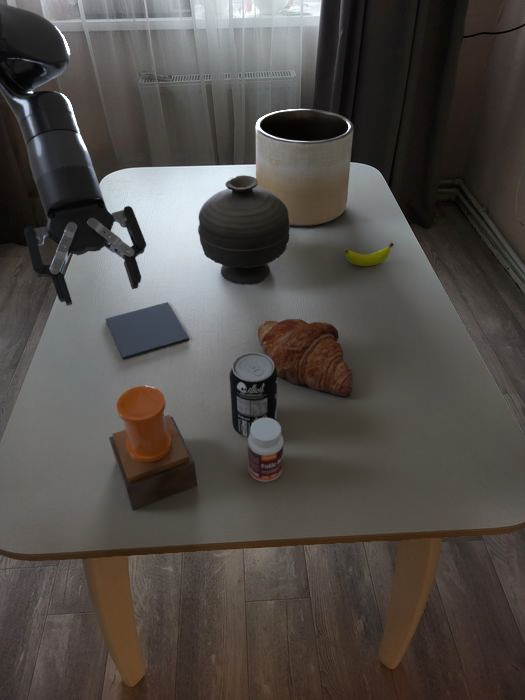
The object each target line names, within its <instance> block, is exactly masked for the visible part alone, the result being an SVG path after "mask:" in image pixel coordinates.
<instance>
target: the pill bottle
mask: <svg viewBox="0 0 525 700" xmlns="http://www.w3.org/2000/svg"><path fill="white" fill-rule="evenodd" d="M284 444H285V443H284V437H283V434H282V427H281V425H280V423H279V422H278V421H277V419H276V420H274V419H271V418H260V419H257V420H256V421H254V422H253V423H252V425H251V428H250V435H249V437H248V438H247V462H248V463H247V465H248V468H247V469H248V472H249V474H250V476H251V477H252V478H253V479H254V480H256V481H259V482H262V483H269V482H272V481H274V480H277V479H278V478H279V477H280V476H281V475H282V472H283V465H284V463H283V461H284Z"/></svg>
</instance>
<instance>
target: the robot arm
mask: <svg viewBox="0 0 525 700" xmlns="http://www.w3.org/2000/svg"><path fill="white" fill-rule="evenodd" d="M70 55H71V53H70V48H69V46H68V43H67V41H66V39H65V36H64V35H63V34H62V33H61V31H60V30H59V28H57V26H55V24H54V23H52V21H50V20H48V19H47V18H45V17H44V16H42V15H40V14H38V13H36V12H33V11H31V10H27V9H24V8H21V7H17V6H12V5H9V4H7V3H6V4H5V3H1V2H0V93H1V95H2V96H3V98H4V99H5V101H6V103H7V105H8V106H9V108H10V109H11V111H12V113H13V114H14V116H15V118H16V120H17V122H18V126H19V128H20V131H21V134H22V137H23V140H24V141H23V142H24V144H25V147H26V151H27V155H28V162H29V166H30V170H31V174H32V179H33V182H34V183H35V186H36V189H37V192H38V195H39V198H40V201H41V205H42V207H43V212H44V214H45V217H46V220H47V221H46V222H47V223H46V226H42V227H33V226H31V225H27V226H25V227H24V228H23V233H24V237H25V241H26V244H27V245H26V246H27V249H28V253H29V257H30V262H31V265H32V270H33V272H34V275H35V276H36V277H37V278H49V279H51V280H52V283H53V286H54V289H55V292H56V295H57V298H58V301H60V302H61V303H65V305H66V306H67V307H68V306H72V305H73V300H72V297H71V293H70V291H69V287H68V284H67V281H66V278H65V276H64V273H63V271H64V269H65V267H66V265H67V263H68V260H69V258H70V255H71V254H72V255H76V256H81V255H84V254H86V253H88V252H98V251H101V250H102V249H103V248H104V247H105V248H106V249H107V250H108V251H110V252H111V253H114V254H116V255H117V256H118V257H120V258H121V259H123V260H124V262H123V265H124V269H125V272H126V276H127V278H128V282H129V284H130V287H131V289H132V290H136V289H138V288H139V286H140V285H139V284H140V283H141V281H142V275H141V271H140V268H139V265H138V261H137V259H136V258H137V257H138V256H140V255H143V254H144V252H145V249H146V247H147V242H146V239H145V236H144V234H143V232H142V229H141V227H140V223H139V221H138V219H137V216H136V214H135V212H134V208H133V207H132V206H129V205H126V206H125V207H124V208H123V209H121V210H118V211H115V212H111V211H110V210H109V209H108V208H107V205H106V202H105V199H104V196H103V194H102V190H101V187H100V184H99V181H98V177H97V174H96V171H95V167H94V165H93V162H92V158H91V156H90V153H89V151H88V148H87V146H86V144H85V142H84V139H83V138H82V134H81V130H80V128H79V125H78V121H77V118H76V115H75V112H74V109H73V106H72V104H71V102H70V100H69V99H68V98H67V96H65V95H64V94H62V92H61V93H60V92H58V91H54V90H39V91H38V90H37V91H34V90H35V89H37V88H38V87H41V86H42V85H44V84H47V83H49V82H50V81H52V80H54V79H56V78H58V77H59V76H61V75H62V74H63V73H64V72H65V71H66V70H67V68H68V67H69V64H70V59H71V56H70ZM114 223H118V224H119V225H120V227H121V228H123V229H124V228H126V230H127V233H128V236H129V238H130V241H131V244H132V245H131V246H130V245H129V244H127V243H126V242H124V240H122V239H121V237H119V236H118V235H117V234H116V233H114V232H113V231H112V228H113V226H114ZM46 237H49V239H51V240H53V241H54V242H55V244H58V246H57V248H56V251H55V254H54V257H53V260H52V262H51V264H44V263H43V259H42V255H41V252H40V247H42V246H43V245H44V244H45V238H46Z"/></svg>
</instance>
